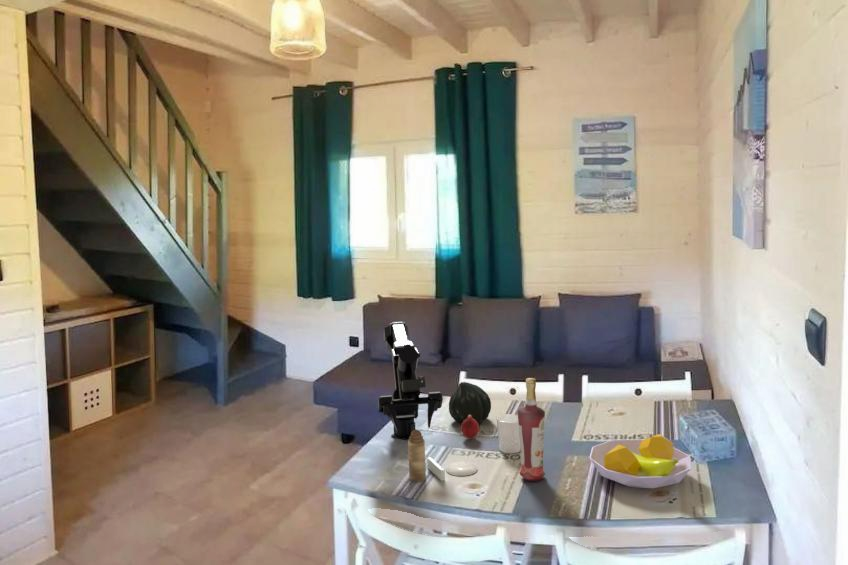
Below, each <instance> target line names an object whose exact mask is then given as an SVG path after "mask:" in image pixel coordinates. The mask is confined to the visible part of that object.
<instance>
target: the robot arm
mask: <svg viewBox="0 0 848 565" xmlns="http://www.w3.org/2000/svg"><path fill="white" fill-rule="evenodd" d="M409 338H410V333H409V326H407V325H406V322H405V321H392V322H390V323H389V325H387V326H386V327H384V328H383V342H385V345H386V346H385V347H386V349H387V350H388V351H389V352H390V354H391V360H392V368H393V377H394V378H393V379H394V386H395V388H394V389H395V390H394V392H393V394H389V395H379V397H378V401H377V402H378V403H377V405H378V406H377V408H378V413H380V414H383V415H384V416H387V417H388V418H389V420H390V421H391V423H392V424H393V433H392V434H391V435H390V437H392V438H396V439H399V440H400V439H401V440H405V441H408V440H409V437H410V436H411V432H412V431H413V430H417V429H416V422H415V419H418V417H419V405H426V404H427V410H426V411H427V428H428V429H430V428H431V423H432V417H433V415H434V412H437V411H438V409H441V408H442V405H443V397H444V396H443V393H442V392H441V391H431V392H430V391H429V392H428V393H427V396H424V397H420V395H421V389H425V388H426V386H427V384H426V377H425V376H418V377H417V369H418V362H419V358H420V357H421V352H420V351H419V350H418V349H417V346H415V344H414V342H413V341H412V340H409Z"/></svg>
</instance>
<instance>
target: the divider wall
mask: <svg viewBox="0 0 848 565" xmlns="http://www.w3.org/2000/svg"><path fill="white" fill-rule="evenodd" d="M427 469H428V470H430V471H431V473H433V475H435V477H436V478H438V479H439V480H440V481H441V482H442V481H445V478H446V476H445V475H446V474H445V469H444V468H443V467H442V466H441V465H440V464H439V463H437V461H435V460H434V459H433V457H427Z"/></svg>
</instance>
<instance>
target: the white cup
mask: <svg viewBox="0 0 848 565" xmlns="http://www.w3.org/2000/svg"><path fill="white" fill-rule="evenodd" d="M496 426H497V427H496V428H497V429H496V430H497V439H498V445H499V447H498V449H499V451H500V452H502V453H504V454H518V453H520V438H519V425H518V414H513V413H506V414H501V415H498V416H497V417H496Z"/></svg>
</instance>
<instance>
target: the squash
mask: <svg viewBox="0 0 848 565" xmlns="http://www.w3.org/2000/svg"><path fill="white" fill-rule="evenodd" d="M491 410H492V401H491V399H490V395H489V394H488V393H487V392H486V391H485V390H484V389H483V388H481V387H480V386H478V385H476V384H473V383H470V382H466V381H461V382H460V383H459V384H458V386H457V387H456V388H455V390H454V391H453V392H452V393H451V395H450V397H449V403H448V413H449V414H450V417H451V418H452V419H453V421H455V422H456V423H458V424H462V423H463V421H464V420H465V419H467V418H468V416H469V415H471V416H472V418H473V419H475V420H476V421H477V423H478V425H479V424H480V423H481V422H482V421H486V420H488V418H489V414H490V413H491Z"/></svg>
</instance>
